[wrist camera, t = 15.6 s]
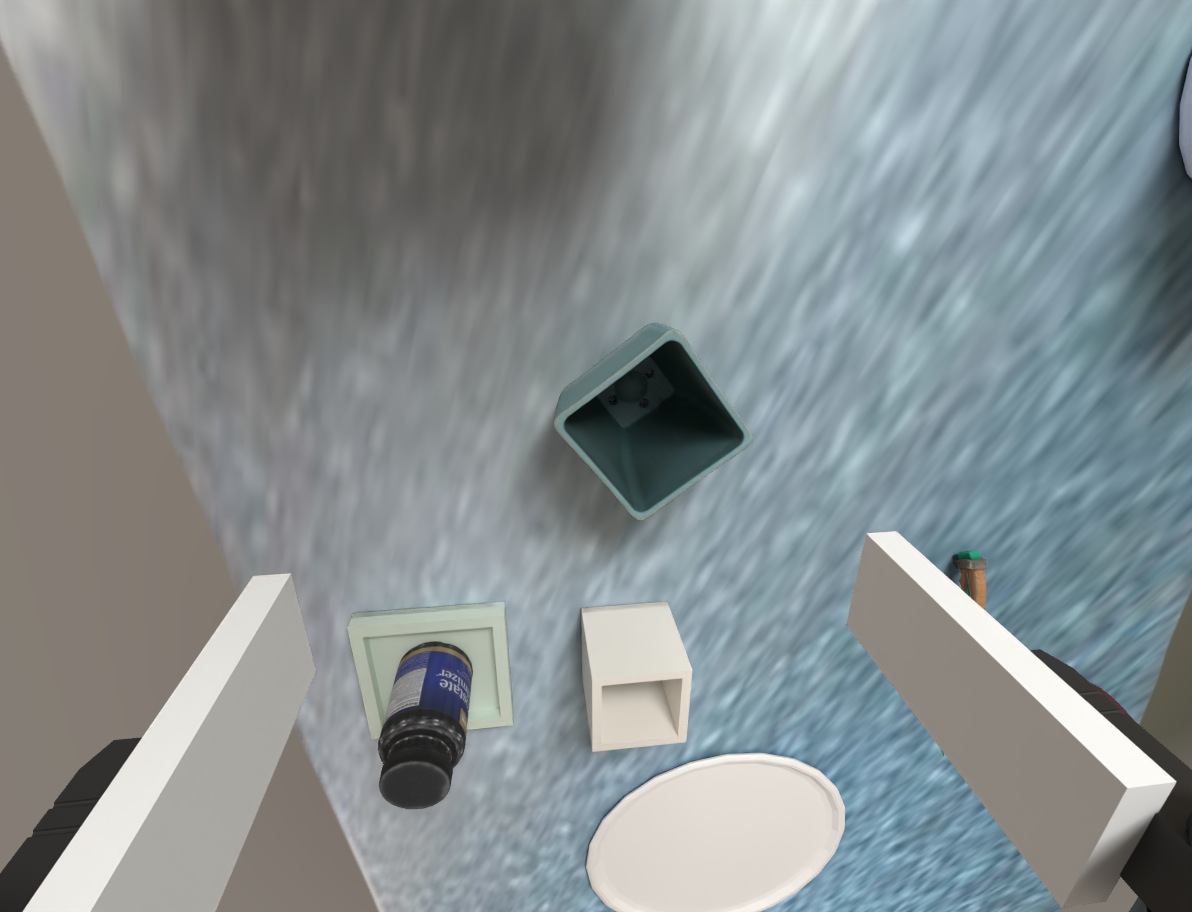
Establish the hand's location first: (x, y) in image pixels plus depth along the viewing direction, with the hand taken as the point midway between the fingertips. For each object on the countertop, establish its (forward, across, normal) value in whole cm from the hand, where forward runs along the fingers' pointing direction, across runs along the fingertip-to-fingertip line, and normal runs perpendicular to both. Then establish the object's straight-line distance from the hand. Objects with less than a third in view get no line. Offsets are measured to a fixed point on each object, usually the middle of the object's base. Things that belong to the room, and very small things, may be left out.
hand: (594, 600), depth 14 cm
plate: (+29, +17, -57) cm, 66 cm away
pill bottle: (+28, -10, -28) cm, 41 cm away
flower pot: (+29, +6, -4) cm, 30 cm away
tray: (+29, -10, -28) cm, 41 cm away
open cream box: (+29, +6, -27) cm, 40 cm away
